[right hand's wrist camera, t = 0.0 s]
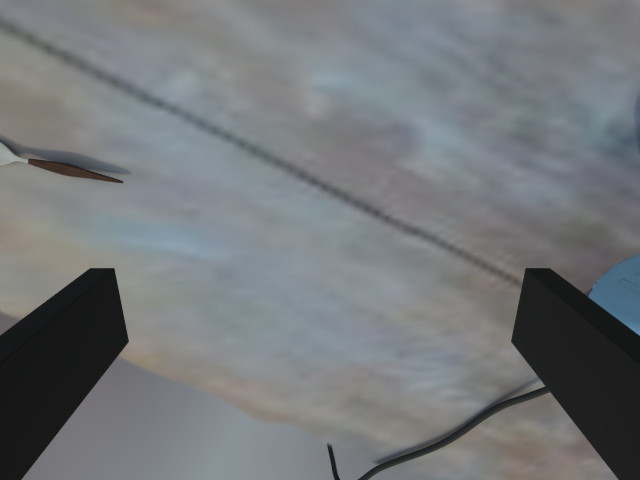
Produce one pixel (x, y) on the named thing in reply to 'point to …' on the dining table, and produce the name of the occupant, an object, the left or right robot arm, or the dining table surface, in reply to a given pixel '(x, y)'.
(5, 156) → the fork
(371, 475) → the left robot arm
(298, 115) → the dining table surface
